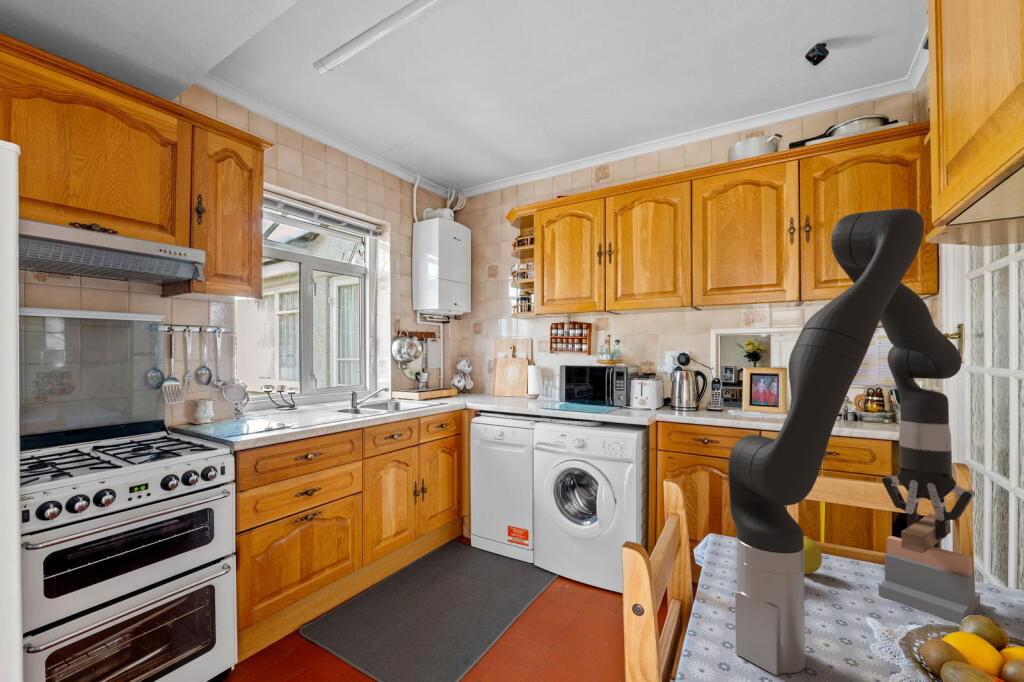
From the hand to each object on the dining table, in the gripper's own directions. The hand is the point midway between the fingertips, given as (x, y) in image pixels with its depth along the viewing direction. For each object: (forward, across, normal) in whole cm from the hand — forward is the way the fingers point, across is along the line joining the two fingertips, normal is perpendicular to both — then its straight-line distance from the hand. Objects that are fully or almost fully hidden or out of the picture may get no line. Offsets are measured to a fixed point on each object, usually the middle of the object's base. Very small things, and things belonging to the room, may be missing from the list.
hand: (926, 535), depth 89 cm
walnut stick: (+1, 0, 0) cm, 1 cm away
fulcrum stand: (+12, 0, 0) cm, 12 cm away
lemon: (+12, +18, +8) cm, 23 cm away
